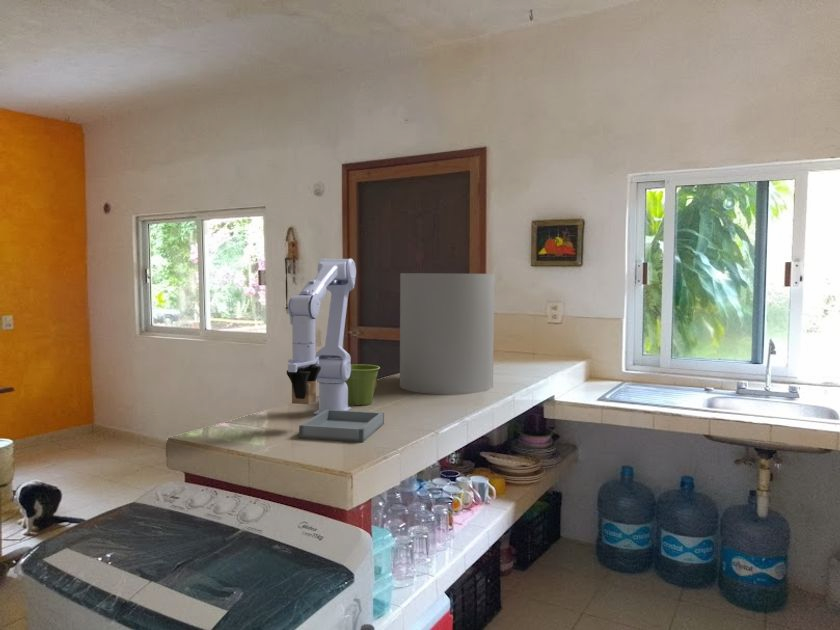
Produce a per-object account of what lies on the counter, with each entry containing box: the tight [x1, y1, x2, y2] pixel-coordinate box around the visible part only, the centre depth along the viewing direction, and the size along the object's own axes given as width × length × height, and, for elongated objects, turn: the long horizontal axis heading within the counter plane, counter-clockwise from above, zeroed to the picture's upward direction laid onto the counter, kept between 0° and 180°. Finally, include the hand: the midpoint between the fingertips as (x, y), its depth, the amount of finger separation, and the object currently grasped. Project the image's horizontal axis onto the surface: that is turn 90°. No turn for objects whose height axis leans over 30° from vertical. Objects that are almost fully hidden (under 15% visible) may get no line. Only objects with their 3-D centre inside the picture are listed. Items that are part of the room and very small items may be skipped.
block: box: [291, 380, 317, 405], centre depth 151 cm, size 4×4×5 cm
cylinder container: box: [399, 272, 496, 395], centre depth 213 cm, size 34×33×40 cm
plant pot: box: [345, 363, 381, 406], centre depth 182 cm, size 12×12×11 cm
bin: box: [298, 409, 385, 443], centre depth 150 cm, size 18×16×3 cm
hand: (304, 396), depth 151 cm, fingers closed on block, 4 cm apart
